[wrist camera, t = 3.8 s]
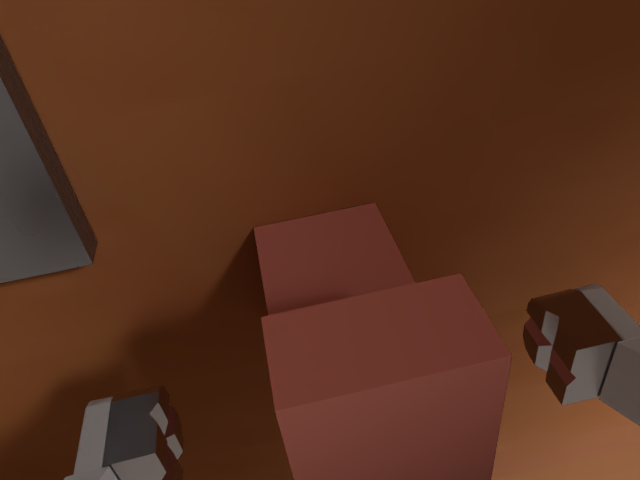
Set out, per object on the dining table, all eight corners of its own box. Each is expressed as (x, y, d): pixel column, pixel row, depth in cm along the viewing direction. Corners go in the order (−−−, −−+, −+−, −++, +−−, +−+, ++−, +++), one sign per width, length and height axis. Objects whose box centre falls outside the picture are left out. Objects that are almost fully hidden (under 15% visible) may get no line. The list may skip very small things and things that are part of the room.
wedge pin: (236, 154, 12) (275, 411, 6) (370, 128, 12) (511, 355, 7) (284, 361, 16) (331, 615, 11) (382, 339, 16) (474, 576, 11)
